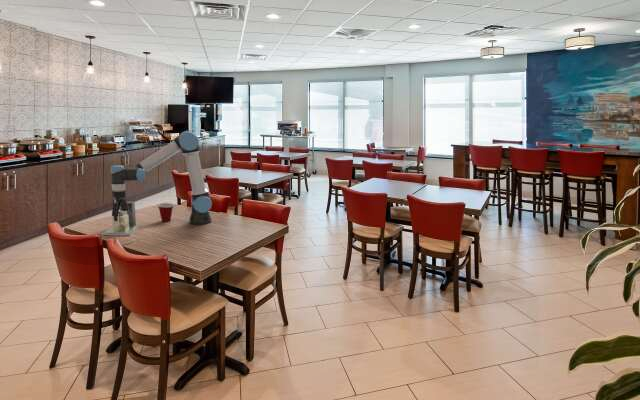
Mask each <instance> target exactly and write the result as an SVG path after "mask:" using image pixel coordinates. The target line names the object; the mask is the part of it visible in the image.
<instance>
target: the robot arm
mask: <svg viewBox="0 0 640 400" xmlns="http://www.w3.org/2000/svg"><path fill="white" fill-rule="evenodd" d="M200 151H201V147H200V139H199V137H198V135H197V134H196V133H195V132H193V131H191V130H184V131H182V132H181V133H180V134H178V135H177V136H176V137H174V138H173V139H172V141H171V142H169V143H168V144H167V145H165V146H164V147H162V148H159V150H158V151H155V152H154V153H152V154H151V155H149V156H148V157H146V158H144V159H143V160H141V161H140V162H139V163H137V164H135V165H133V166H131V167H130V168H125V166H124V165H118V164H117V165H111V167H110V180H111V190H112V192H111V194H112V197H113V198H114V199H113V200H112V210H111V217H113V216H114V226H119V216H118V213H119V212H120V210H119V208H120V207H121V208H122V210H123V211H122V213H123V214H127V211H128V205H127V202H128V201H127V199H126V198H127V197H126V182H129V181H131V182H132V181H137V182H138V181H139V182H140V181H145V180H146V174H147V172H149V171H151V170H152V169H154V168H155V167H157V166H159V165H160V164H162V163H163V162H165V161H167V160H168V159H169V158H171V157H173V156H175V155H176V154H177V153H179V152H181V154H182V155H183V156H184V157H185V162H186V163H185V164H186V167H187V171H188V176H189V180H190V185H191V191H190V199H191V201H190V203H191V213H190V216H189V219H188V222H189V223H190V224H192V225H206V223H207V224H210V223H212V216H211V213H210V210H211V208H212V204H213V202H212V200H211V196H210V192H209V190H208V189H207V188H206V184H205V180H204V175H203V174H204V173H203V169H202V163H201V159H200V156H199V155H200V154H199V153H200Z"/></svg>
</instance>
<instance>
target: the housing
mask: <svg viewBox="0 0 640 400" xmlns="http://www.w3.org/2000/svg"><path fill="white" fill-rule="evenodd" d="M118 216H119V226H114V216H112V227H113V230H114V231H126V230H127V229H129V216H128V214H123V213H122V211H120V210H119V213H118Z"/></svg>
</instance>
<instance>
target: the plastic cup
mask: <svg viewBox="0 0 640 400" xmlns="http://www.w3.org/2000/svg"><path fill="white" fill-rule="evenodd" d="M174 206H175V205H174V204H173V203H168V202H167V203H165V202H164V203H163V202H162V203H158V204H157V207H158V209H159V214H160V218H161V219H160V220H161V221H162V222H164V223H168V222H171V220H172V214H173V209H174Z"/></svg>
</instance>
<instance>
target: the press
mask: <svg viewBox="0 0 640 400" xmlns="http://www.w3.org/2000/svg"><path fill="white" fill-rule="evenodd" d="M126 202H127V205H128V211H127V214H128V216H129V229H127V230H126V231H114V230H113V226H112V227H110V228H108V229H107V230H105V231H104V232H103V233H102V236H103V235H111V236H116V237H117V236H123V237H125V236H132V235H133V234H134V233H135V232H137V231H138V230H139V229H140V226H136V225H137V224H136V223H137V221H136V206H135V201H126Z"/></svg>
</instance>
